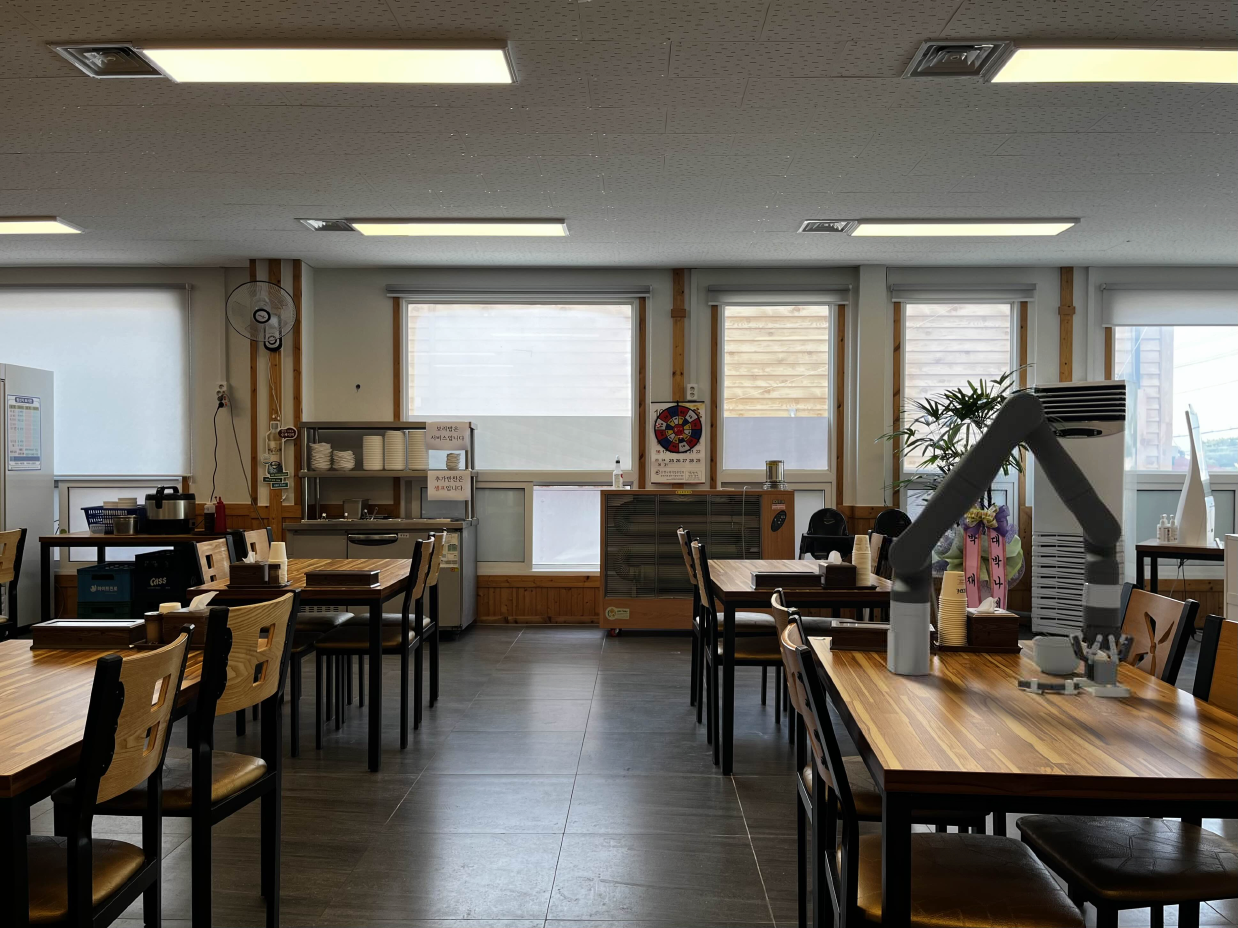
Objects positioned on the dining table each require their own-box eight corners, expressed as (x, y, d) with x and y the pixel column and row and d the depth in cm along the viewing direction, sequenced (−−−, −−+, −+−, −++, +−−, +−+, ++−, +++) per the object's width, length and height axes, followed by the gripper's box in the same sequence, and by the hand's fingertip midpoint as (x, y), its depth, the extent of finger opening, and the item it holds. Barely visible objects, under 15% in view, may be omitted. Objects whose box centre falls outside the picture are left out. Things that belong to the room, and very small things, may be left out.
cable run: (1023, 690, 201) (1023, 683, 201) (1015, 685, 205) (1015, 679, 205) (1083, 691, 200) (1083, 685, 200) (1074, 687, 205) (1074, 680, 205)
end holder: (1094, 696, 199) (1094, 687, 199) (1073, 685, 209) (1073, 677, 209) (1129, 696, 198) (1129, 688, 198) (1106, 686, 208) (1106, 678, 208)
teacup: (1089, 677, 218) (1089, 644, 219) (1043, 676, 219) (1044, 643, 219) (1062, 665, 232) (1062, 634, 232) (1019, 664, 233) (1019, 633, 233)
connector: (1097, 684, 201) (1098, 661, 201) (1085, 678, 207) (1085, 656, 207) (1116, 684, 200) (1116, 661, 200) (1103, 678, 206) (1103, 656, 206)
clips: (1029, 693, 200) (1029, 680, 200) (1019, 687, 206) (1019, 675, 206) (1079, 694, 200) (1079, 681, 200) (1067, 688, 205) (1067, 676, 205)
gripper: (1076, 605, 200) (1076, 683, 200) (1142, 606, 200) (1142, 685, 199) (1061, 600, 208) (1060, 676, 208) (1124, 602, 207) (1124, 677, 207)
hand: (1100, 679), depth 203 cm, fingers closed on connector, 4 cm apart
